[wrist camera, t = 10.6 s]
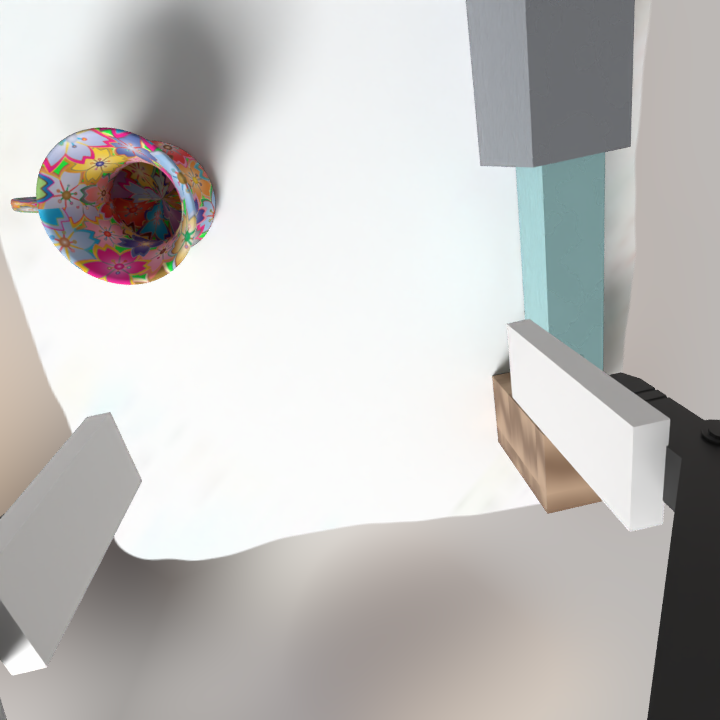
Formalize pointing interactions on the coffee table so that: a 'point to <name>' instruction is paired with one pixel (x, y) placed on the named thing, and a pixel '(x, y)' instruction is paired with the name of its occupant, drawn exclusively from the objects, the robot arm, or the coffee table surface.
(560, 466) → the socket
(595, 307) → the teal square bar
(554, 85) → the sleeve
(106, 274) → the mug
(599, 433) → the robot arm
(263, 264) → the coffee table surface
